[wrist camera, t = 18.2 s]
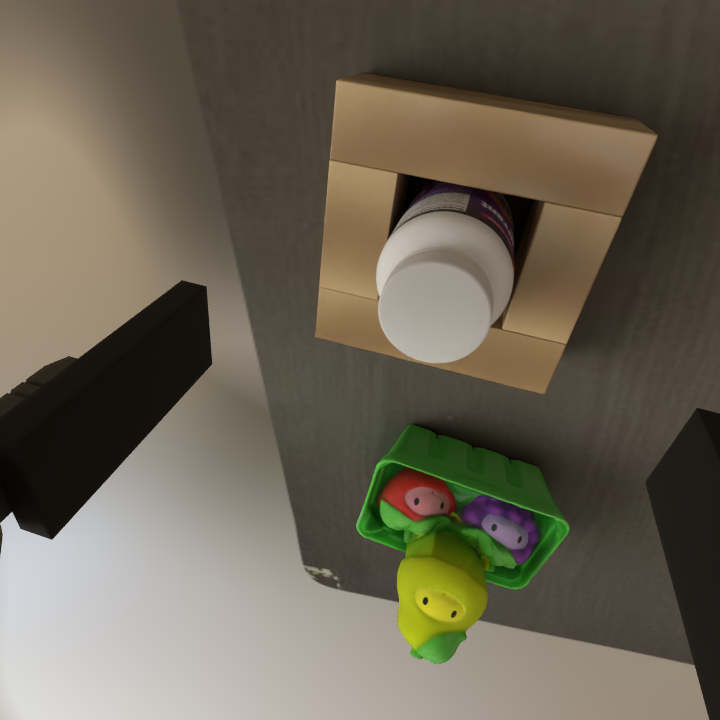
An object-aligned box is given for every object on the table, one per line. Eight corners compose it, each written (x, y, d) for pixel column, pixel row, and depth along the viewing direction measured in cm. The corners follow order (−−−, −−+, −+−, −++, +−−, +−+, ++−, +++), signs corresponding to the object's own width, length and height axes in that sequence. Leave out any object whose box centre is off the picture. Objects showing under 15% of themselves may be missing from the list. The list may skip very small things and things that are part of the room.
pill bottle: (523, 264, 25) (526, 370, 17) (421, 285, 27) (383, 388, 19) (502, 156, 23) (496, 222, 15) (393, 189, 25) (336, 262, 17)
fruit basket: (568, 459, 31) (590, 637, 22) (514, 539, 36) (513, 709, 27) (396, 401, 32) (349, 548, 23) (368, 487, 37) (320, 634, 28)
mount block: (361, 72, 22) (335, 78, 19) (636, 118, 21) (659, 134, 17) (336, 303, 29) (314, 337, 26) (541, 352, 27) (544, 395, 24)
